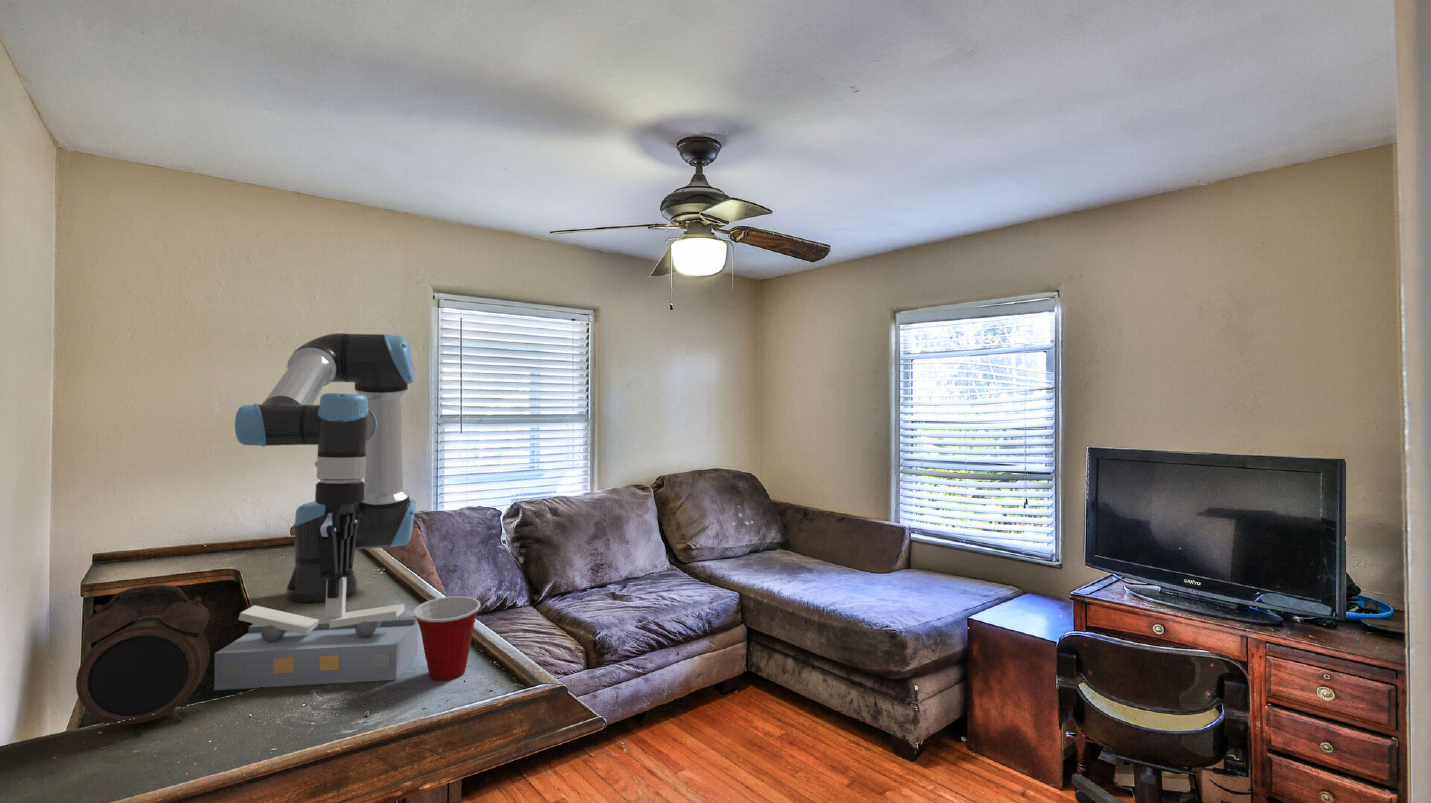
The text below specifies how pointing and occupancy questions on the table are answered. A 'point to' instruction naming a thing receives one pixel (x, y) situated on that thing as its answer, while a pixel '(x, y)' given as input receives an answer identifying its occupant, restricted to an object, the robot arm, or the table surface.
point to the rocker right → (367, 618)
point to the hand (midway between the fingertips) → (335, 614)
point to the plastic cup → (447, 634)
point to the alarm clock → (143, 659)
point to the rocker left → (277, 622)
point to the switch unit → (317, 656)
